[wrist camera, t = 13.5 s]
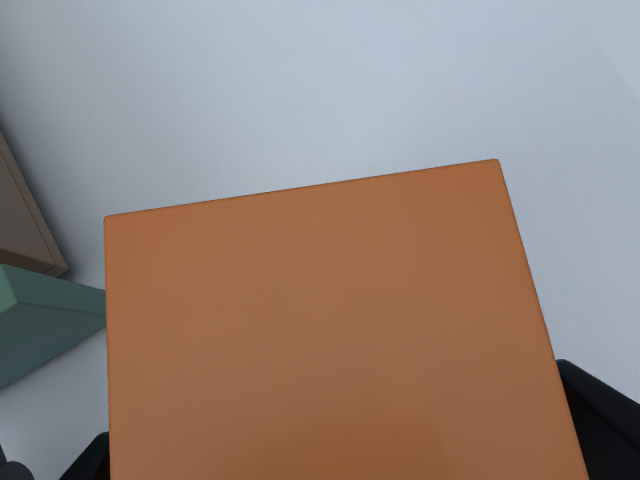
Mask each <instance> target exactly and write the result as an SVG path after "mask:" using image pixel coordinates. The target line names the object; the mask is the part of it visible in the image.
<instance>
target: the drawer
mask: <svg viewBox="0 0 640 480" xmlns="http://www.w3.org/2000/svg"><path fill="white" fill-rule="evenodd" d="M67 270H68V266H67V264H66V262H65V260H64V258H63V256H62V254H61V252H60V250H59V248H58V246H57V244H56V242H55V240H54V238H53V236H52V234H51V232H50V230H49V228H48V226H47V224H46V222H45V220H44V218H43V216H42V214H41V212H40V210H39V208H38V206H37V204H36V202H35V200H34V198H33V196H32V194H31V192H30V190H29V187H28V185H27V183H26V181H25V179H24V177H23V175H22V173H21V171H20V169H19V167H18V165H17V163H16V161H15V159H14V157H13V155H12V153H11V151H10V149H9V147H8V145H7V143H6V141H5V139H4V137H3V135H2V133H1V131H0V389H2V388H4V387H5V386H7V385H9V384H10V383H12V382H13V381H15V380H17V379H18V378H20V377H22V376H23V375H25V374H27V373H28V372H30V371H32V370H33V369H35V368H37V367H38V366H40V365H42V364H43V363H45V362H46V361H48V360H50V359H51V358H53V357H55V356H56V355H58V354H60V353H61V352H63V351H65V350H66V349H68V348H70V347H71V346H73V345H75V344H76V343H78V342H79V341H81V340H83V339H84V338H86V337H88V336H89V335H91V334H93V333H94V332H96V331H98V330H99V329H101V328H103V327H104V326H106V291H105V290H101V289H97V288H94V287H90V286H86V285H82V284H78V283H74V282H70V281H67V280H63V279H59V278H55V277H57V276H58V275H60V274H62V273H64V272H65V271H67ZM0 480H35V479H34V477H33V475H32V473H31V472H30V470H29V469H28V468H27V467H26V466H25V465H23V464H21V463H19V462H16V461H10V462H7V459H6V457H5V455H4V452H3V450H2V447H1V445H0Z"/></svg>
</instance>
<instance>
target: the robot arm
mask: <svg viewBox="0 0 640 480" xmlns="http://www.w3.org/2000/svg"><path fill="white" fill-rule="evenodd" d="M556 364H557V367H558V371H559V374H560V378H561V381H562V385H563V388H564V392H565V396H566V399H567V403H568V406H569V410H570V413H571V417H572V420H573V424H574V427H575V431H576V434H577V438H578V442H579V445H580V449H581V452H582V456H583V459H584V463H585V466H586V470H587V473H588V477H589V480H640V404H638V403H637V402H635V401H633V400H632V399H630V398H628V397H627V396H625V395H623V394H622V393H620V392H618V391H617V390H615V389H614V388H612V387H610V386H609V385H607V384H605V383H604V382H602V381H600V380H599V379H597V378H595V377H594V376H592V375H590V374H589V373H587V372H586V371H584V370H582V369H581V368H579V367H577V366H576V365H574V364H572V363H571V362H569V361H567V360H564V359H558V360H556ZM59 480H110V442H109V432H103V433H101V434H99V435H98V436H97V437H96V438H95V439H94V440H93V441H92V442H91V443H90V444H89V446H88V447H87V448H86V449H85V450H84V451H83V452H82V453H81V455H80V456H79V457H78V458H77V459H76V460H75V461H74V463H73V464H72V465H71V466H70V467H69V468H68V469H67V471H66V472H65V473H64V474H63V475H62V476H61V477H60V479H59Z"/></svg>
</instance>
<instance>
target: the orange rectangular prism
mask: <svg viewBox="0 0 640 480" xmlns="http://www.w3.org/2000/svg"><path fill="white" fill-rule="evenodd" d="M104 249H105V287H106V326H107V365H108V403H109V442H110V480H589V477H588V473H587V470H586V466H585V463H584V459H583V456H582V452H581V449H580V445H579V442H578V438H577V434H576V431H575V427H574V424H573V420H572V417H571V413H570V410H569V406H568V403H567V399H566V396H565V392H564V388H563V385H562V381H561V378H560V374H559V371H558V367H557V364H556V360H555V357H554V353H553V350H552V346H551V342H550V339H549V335H548V332H547V328H546V325H545V321H544V318H543V314H542V311H541V307H540V304H539V300H538V296H537V293H536V289H535V286H534V282H533V279H532V275H531V272H530V268H529V265H528V261H527V258H526V254H525V250H524V247H523V243H522V240H521V236H520V233H519V229H518V226H517V222H516V219H515V215H514V212H513V208H512V204H511V201H510V197H509V194H508V190H507V187H506V183H505V180H504V176H503V173H502V169H501V166H500V162H499V160H498V159H489V160H482V161H476V162H469V163H462V164H455V165H448V166H442V167H435V168H428V169H421V170H414V171H408V172H401V173H394V174H387V175H380V176H374V177H367V178H360V179H353V180H346V181H340V182H333V183H326V184H319V185H312V186H305V187H299V188H292V189H285V190H278V191H271V192H265V193H258V194H251V195H244V196H237V197H231V198H224V199H217V200H210V201H203V202H197V203H190V204H183V205H176V206H169V207H163V208H156V209H149V210H142V211H135V212H129V213H122V214H115V215H108V216H106V217H105V218H104Z"/></svg>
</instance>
